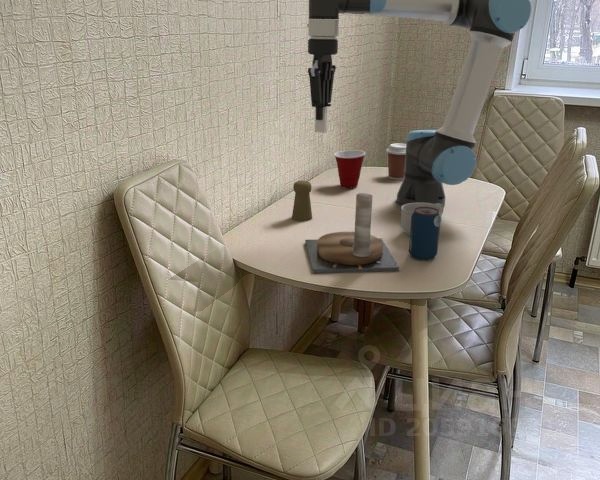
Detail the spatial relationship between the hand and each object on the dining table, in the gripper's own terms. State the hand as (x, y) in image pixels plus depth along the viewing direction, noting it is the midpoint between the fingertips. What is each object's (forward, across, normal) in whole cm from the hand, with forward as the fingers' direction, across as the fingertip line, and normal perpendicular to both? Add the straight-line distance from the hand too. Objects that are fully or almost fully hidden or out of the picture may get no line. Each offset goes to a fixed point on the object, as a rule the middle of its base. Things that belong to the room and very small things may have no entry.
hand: (320, 131), depth 156 cm
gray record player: (+26, +17, +16) cm, 35 cm away
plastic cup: (+27, -42, -7) cm, 50 cm away
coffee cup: (+27, -62, +5) cm, 67 cm away
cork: (+27, -4, -7) cm, 28 cm away
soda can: (+27, +9, +32) cm, 43 cm away
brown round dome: (+25, +18, +16) cm, 35 cm away
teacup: (+27, -7, +28) cm, 39 cm away
